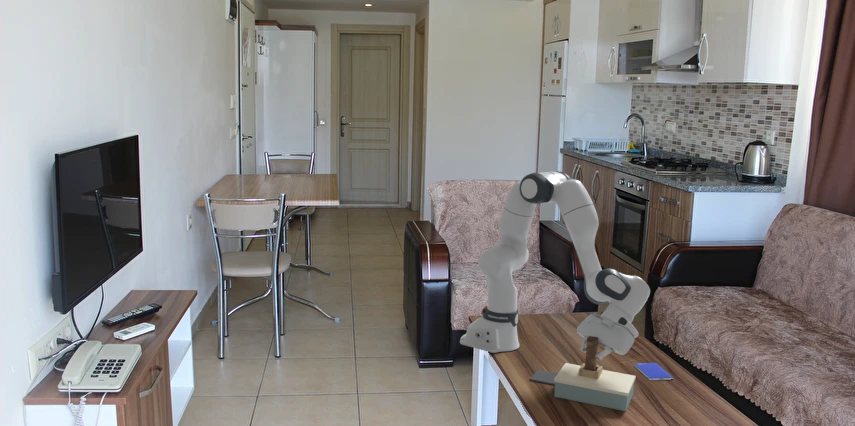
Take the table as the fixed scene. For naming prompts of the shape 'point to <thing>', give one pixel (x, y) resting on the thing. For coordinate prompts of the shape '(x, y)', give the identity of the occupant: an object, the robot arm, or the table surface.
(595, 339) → the walnut key
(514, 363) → the table surface
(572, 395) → the cream and teal block
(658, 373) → the hard drive
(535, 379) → the key mat
